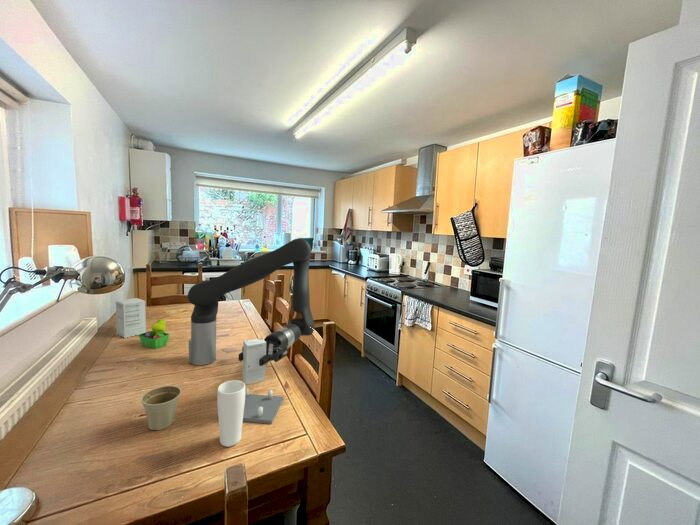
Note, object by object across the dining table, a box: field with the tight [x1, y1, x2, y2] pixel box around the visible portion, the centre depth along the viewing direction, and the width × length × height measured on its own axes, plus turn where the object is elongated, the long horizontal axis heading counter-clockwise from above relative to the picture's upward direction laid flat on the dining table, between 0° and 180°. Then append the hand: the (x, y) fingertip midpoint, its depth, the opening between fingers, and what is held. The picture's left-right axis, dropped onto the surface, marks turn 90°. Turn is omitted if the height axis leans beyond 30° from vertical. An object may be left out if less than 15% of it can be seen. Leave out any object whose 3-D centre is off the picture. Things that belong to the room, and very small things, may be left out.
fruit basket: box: [137, 318, 171, 350], centre depth 130 cm, size 11×9×11 cm
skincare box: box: [242, 337, 267, 385], centre depth 87 cm, size 6×4×12 cm
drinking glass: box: [216, 379, 246, 448], centre depth 74 cm, size 7×7×15 cm
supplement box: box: [115, 297, 147, 339], centre depth 140 cm, size 10×9×17 cm
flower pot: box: [140, 385, 182, 431], centre depth 79 cm, size 9×9×9 cm
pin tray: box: [243, 387, 284, 425], centre depth 89 cm, size 16×12×4 cm
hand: (249, 360), depth 85 cm, fingers closed on skincare box, 7 cm apart
